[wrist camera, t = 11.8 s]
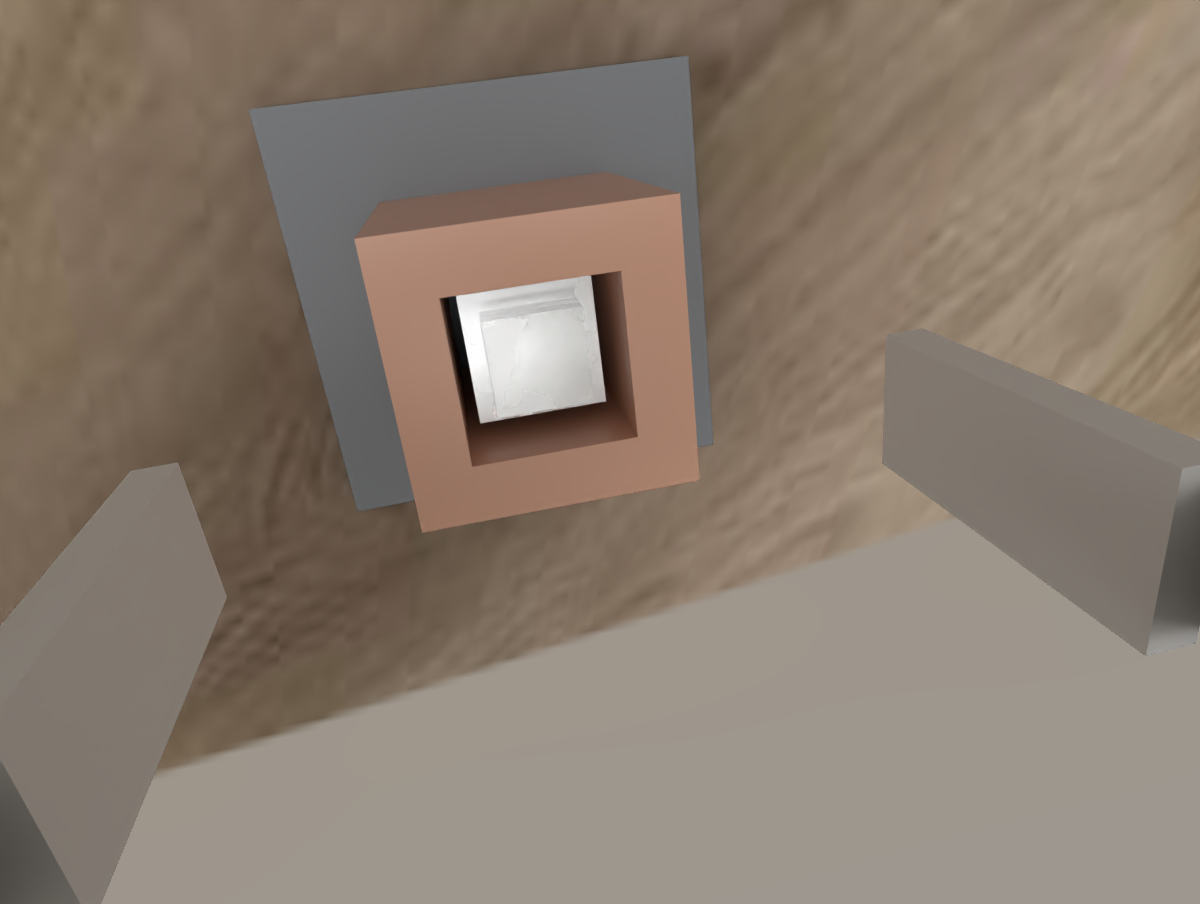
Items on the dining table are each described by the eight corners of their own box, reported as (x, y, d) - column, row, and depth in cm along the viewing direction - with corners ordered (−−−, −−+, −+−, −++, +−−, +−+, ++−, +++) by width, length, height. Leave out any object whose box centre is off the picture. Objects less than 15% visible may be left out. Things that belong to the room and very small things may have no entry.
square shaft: (470, 356, 29) (482, 439, 21) (450, 255, 27) (457, 305, 20) (568, 340, 29) (614, 415, 22) (554, 239, 28) (599, 283, 20)
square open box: (425, 417, 29) (422, 533, 21) (379, 202, 26) (354, 238, 18) (627, 382, 30) (699, 480, 22) (605, 171, 27) (679, 193, 19)
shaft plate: (360, 497, 31) (357, 511, 30) (256, 109, 25) (248, 109, 24) (704, 433, 33) (713, 444, 32) (678, 58, 27) (688, 55, 26)
